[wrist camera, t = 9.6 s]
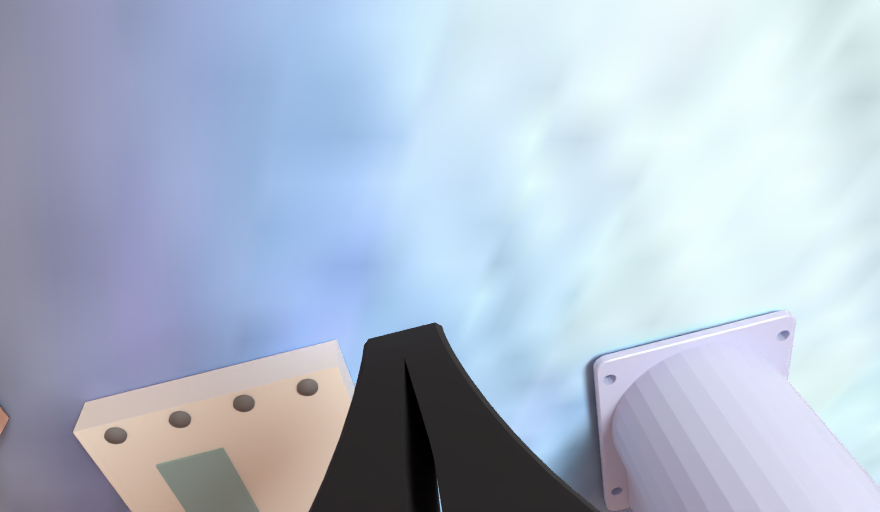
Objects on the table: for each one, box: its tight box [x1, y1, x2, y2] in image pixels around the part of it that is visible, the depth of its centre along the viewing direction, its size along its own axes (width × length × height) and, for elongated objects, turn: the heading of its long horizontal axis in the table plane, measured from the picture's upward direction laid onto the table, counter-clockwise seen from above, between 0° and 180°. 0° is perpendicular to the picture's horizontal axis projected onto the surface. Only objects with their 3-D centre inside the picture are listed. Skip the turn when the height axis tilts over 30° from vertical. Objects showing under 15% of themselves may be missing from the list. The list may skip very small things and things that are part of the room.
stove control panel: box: [73, 340, 355, 512], centre depth 25 cm, size 12×9×3 cm
